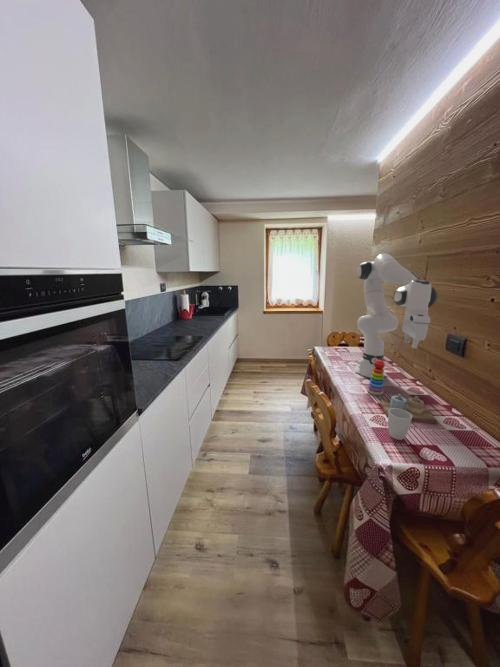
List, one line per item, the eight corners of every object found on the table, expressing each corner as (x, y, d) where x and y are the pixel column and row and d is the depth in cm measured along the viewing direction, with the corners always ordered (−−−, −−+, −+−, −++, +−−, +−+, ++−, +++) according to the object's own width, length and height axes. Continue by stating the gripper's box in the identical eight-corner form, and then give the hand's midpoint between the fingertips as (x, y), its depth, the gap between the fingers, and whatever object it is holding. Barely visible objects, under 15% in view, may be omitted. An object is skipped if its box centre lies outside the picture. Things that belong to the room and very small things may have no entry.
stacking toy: (384, 396, 140) (390, 363, 136) (368, 394, 142) (373, 361, 138) (380, 390, 148) (385, 358, 144) (365, 388, 149) (369, 357, 145)
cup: (413, 440, 103) (417, 417, 101) (396, 443, 101) (400, 420, 99) (396, 428, 111) (400, 407, 109) (380, 431, 109) (384, 409, 106)
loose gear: (388, 404, 129) (390, 394, 128) (402, 406, 127) (404, 396, 126) (392, 410, 123) (393, 400, 122) (406, 412, 122) (408, 402, 121)
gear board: (379, 402, 133) (382, 387, 132) (424, 408, 129) (427, 392, 127) (386, 416, 120) (389, 399, 118) (436, 423, 116) (440, 405, 114)
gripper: (400, 312, 131) (396, 339, 134) (415, 319, 112) (410, 350, 115) (415, 313, 130) (410, 340, 133) (432, 320, 110) (426, 351, 113)
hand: (410, 345), depth 123 cm, fingers open, 8 cm apart
